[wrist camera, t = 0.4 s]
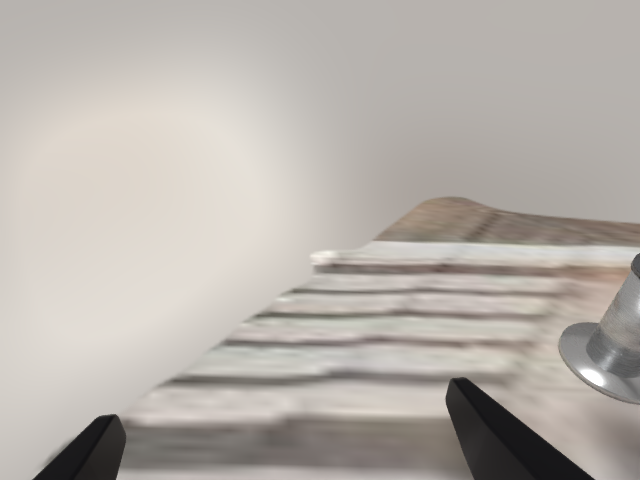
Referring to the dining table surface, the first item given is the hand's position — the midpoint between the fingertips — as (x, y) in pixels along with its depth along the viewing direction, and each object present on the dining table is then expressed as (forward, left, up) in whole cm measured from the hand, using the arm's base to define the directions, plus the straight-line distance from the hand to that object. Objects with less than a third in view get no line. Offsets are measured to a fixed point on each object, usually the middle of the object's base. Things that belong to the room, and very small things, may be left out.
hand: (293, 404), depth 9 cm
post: (+4, -25, -16) cm, 30 cm away
